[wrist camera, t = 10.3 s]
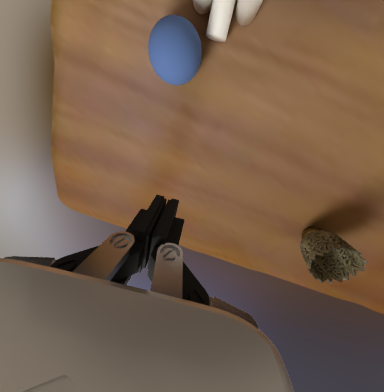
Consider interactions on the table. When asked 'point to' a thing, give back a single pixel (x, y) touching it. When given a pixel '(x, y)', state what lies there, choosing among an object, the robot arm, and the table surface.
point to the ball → (175, 49)
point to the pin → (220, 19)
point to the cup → (329, 255)
